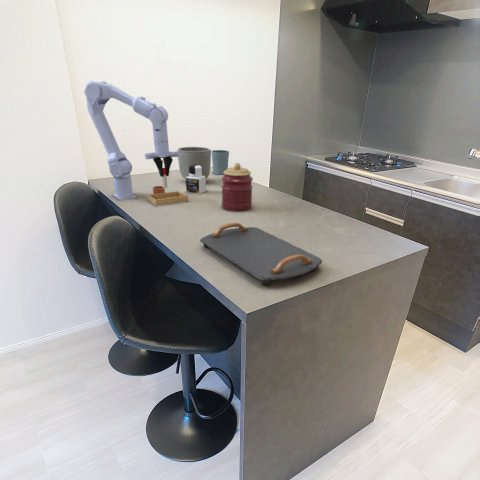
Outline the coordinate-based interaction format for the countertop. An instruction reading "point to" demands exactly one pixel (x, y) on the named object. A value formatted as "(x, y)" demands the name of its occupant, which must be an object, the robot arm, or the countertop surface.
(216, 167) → the blue tapered pot
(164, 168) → the marker
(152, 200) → the tray
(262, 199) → the countertop surface
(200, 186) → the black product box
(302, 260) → the serving tray
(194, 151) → the planter
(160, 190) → the cup
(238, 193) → the kitchen canister
